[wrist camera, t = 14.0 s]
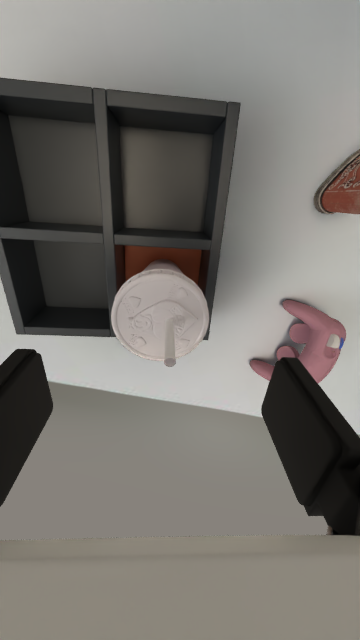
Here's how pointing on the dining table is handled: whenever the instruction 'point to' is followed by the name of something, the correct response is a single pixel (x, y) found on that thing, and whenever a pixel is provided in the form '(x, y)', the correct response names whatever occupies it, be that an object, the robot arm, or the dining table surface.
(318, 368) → the video game controller
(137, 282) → the smoothie
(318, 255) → the dining table surface
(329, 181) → the lighter
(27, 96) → the crate
